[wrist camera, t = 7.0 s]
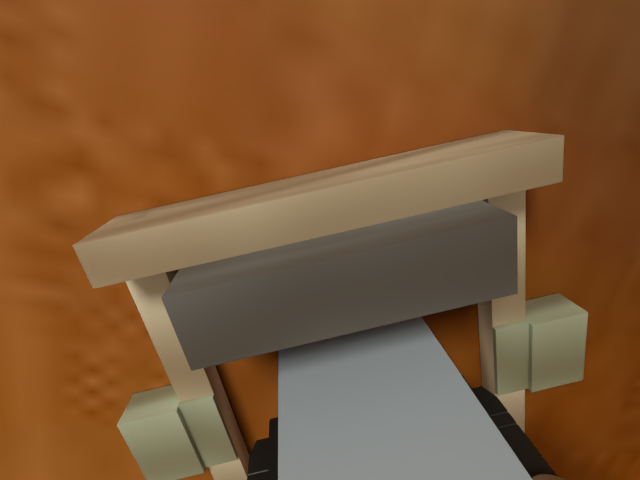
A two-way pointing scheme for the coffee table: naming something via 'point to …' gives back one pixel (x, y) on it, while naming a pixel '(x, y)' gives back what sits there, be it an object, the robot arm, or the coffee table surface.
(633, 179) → the coffee table surface
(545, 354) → the beam frame
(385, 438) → the grey rectangular block
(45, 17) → the coffee table surface
